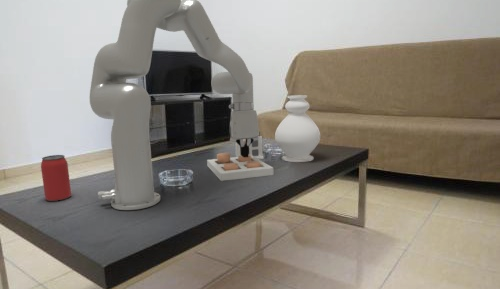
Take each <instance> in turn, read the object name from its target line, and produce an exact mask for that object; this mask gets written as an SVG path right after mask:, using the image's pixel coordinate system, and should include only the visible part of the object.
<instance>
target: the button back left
mask: <svg viewBox="0 0 500 289" xmlns="http://www.w3.org/2000/svg"><path fill="white" fill-rule="evenodd" d="M230 158H231V152H219V153H216V159H217V163H220V164H226V163H230Z"/></svg>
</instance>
